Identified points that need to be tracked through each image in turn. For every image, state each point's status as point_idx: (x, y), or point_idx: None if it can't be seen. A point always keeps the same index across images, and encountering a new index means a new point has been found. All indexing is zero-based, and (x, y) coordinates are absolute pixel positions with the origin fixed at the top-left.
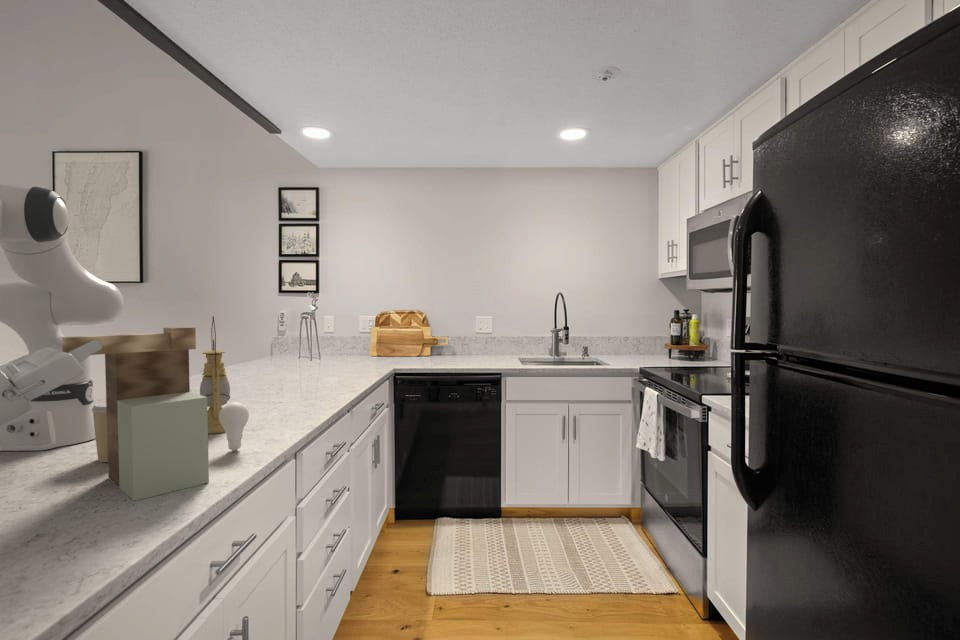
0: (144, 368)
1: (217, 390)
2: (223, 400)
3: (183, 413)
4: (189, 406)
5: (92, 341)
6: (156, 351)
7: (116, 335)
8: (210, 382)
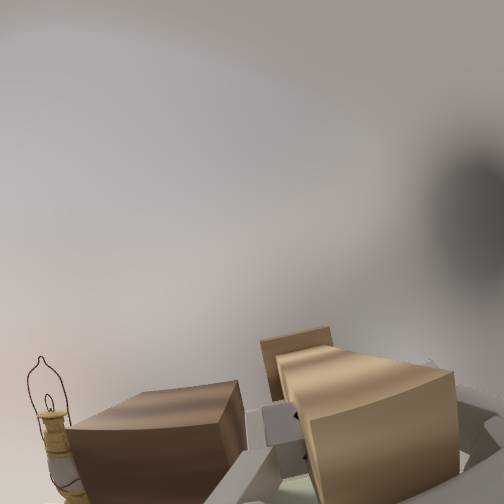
0: None
1: None
2: None
3: None
4: None
5: (438, 367)
6: (236, 418)
7: (332, 359)
8: (69, 461)
